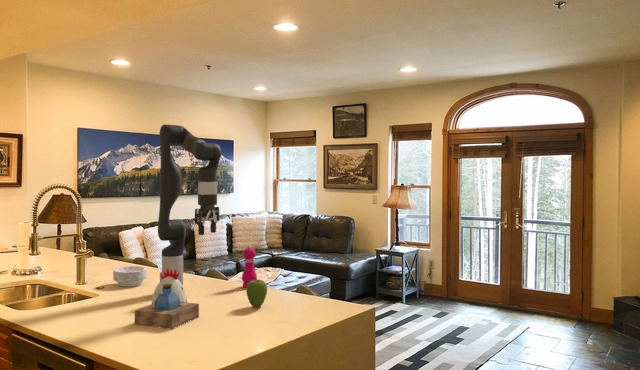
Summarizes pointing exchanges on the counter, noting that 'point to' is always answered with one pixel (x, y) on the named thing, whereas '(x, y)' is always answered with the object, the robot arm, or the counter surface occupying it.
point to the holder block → (166, 315)
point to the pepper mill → (249, 266)
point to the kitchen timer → (176, 286)
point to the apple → (256, 292)
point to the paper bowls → (129, 275)
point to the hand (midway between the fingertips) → (207, 233)
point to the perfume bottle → (167, 299)
